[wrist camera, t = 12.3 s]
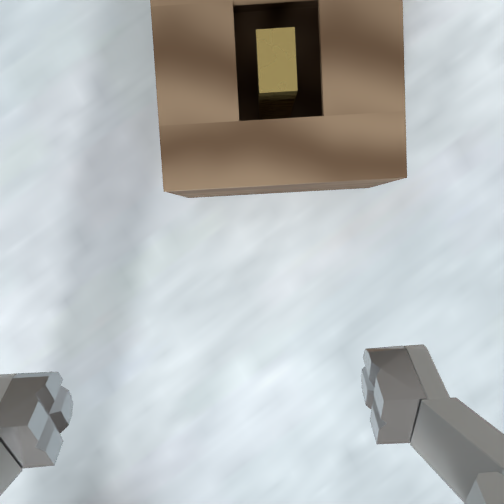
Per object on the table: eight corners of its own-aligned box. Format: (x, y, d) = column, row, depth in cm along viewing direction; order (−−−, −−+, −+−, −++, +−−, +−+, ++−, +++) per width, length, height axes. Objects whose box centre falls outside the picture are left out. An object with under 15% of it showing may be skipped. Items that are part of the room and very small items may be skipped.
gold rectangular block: (288, 121, 37) (297, 90, 28) (259, 122, 37) (259, 93, 28) (286, 73, 37) (294, 26, 28) (256, 75, 37) (255, 29, 28)
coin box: (368, 187, 38) (407, 177, 28) (188, 197, 39) (163, 191, 29) (362, -1, 37) (400, -82, 27) (176, 11, 37) (145, -64, 27)
